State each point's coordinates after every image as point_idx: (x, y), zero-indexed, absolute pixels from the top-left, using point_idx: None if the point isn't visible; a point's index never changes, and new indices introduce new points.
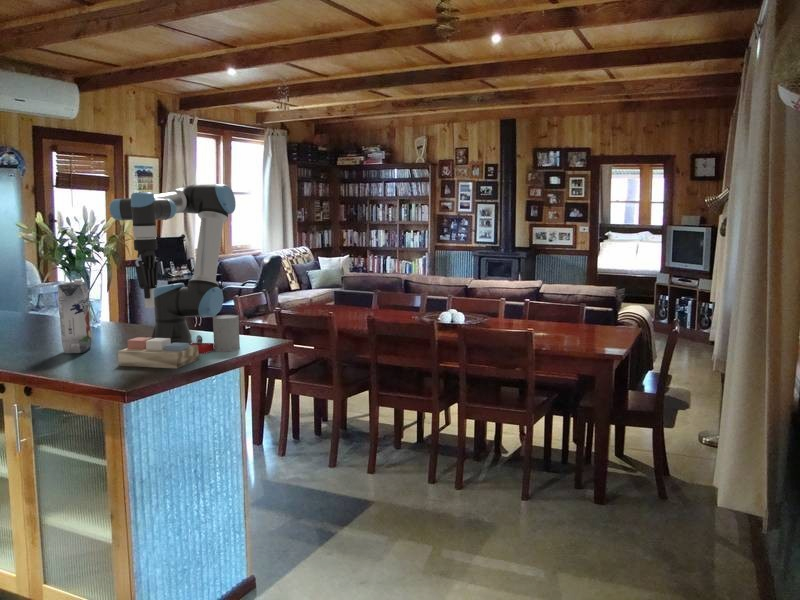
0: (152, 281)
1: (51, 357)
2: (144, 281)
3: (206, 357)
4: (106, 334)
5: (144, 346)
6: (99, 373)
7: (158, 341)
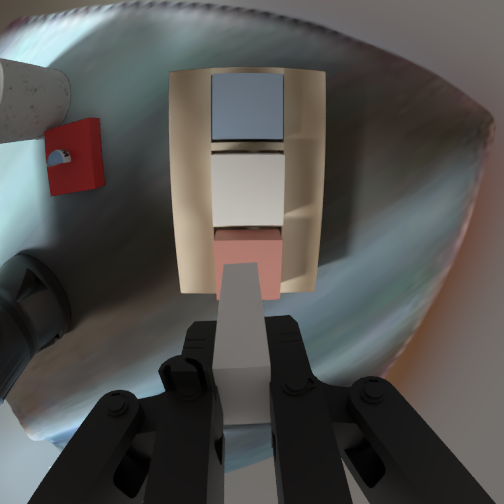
0: (208, 452)
1: (246, 427)
2: (434, 436)
3: (148, 78)
4: (66, 424)
5: (268, 232)
6: (387, 263)
7: (284, 167)
